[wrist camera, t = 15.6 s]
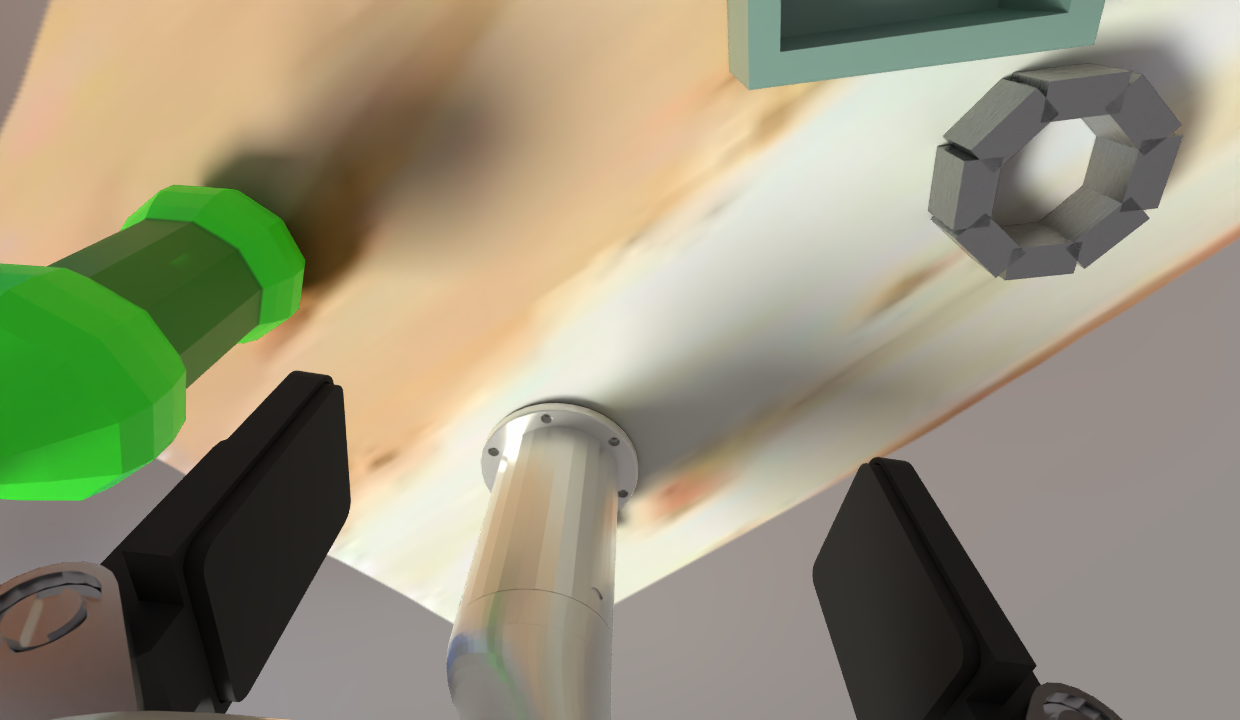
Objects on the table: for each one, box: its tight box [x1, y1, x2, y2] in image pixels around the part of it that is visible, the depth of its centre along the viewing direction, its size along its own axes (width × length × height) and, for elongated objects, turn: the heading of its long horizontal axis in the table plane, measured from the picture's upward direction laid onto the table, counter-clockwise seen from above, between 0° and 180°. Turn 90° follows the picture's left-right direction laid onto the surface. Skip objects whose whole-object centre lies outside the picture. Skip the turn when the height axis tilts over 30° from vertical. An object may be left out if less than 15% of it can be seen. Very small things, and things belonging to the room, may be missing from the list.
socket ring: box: [928, 63, 1183, 280], centre depth 35 cm, size 11×11×4 cm
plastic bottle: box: [0, 185, 305, 500], centre depth 29 cm, size 10×10×25 cm
